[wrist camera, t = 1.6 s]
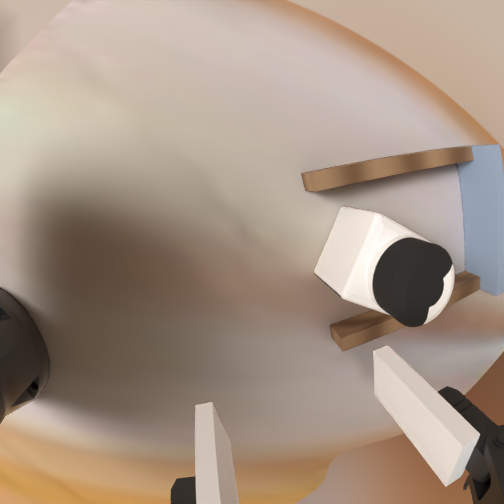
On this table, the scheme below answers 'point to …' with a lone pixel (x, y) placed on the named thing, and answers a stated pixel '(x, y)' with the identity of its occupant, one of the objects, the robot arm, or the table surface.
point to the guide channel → (465, 282)
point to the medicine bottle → (386, 267)
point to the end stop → (484, 216)
